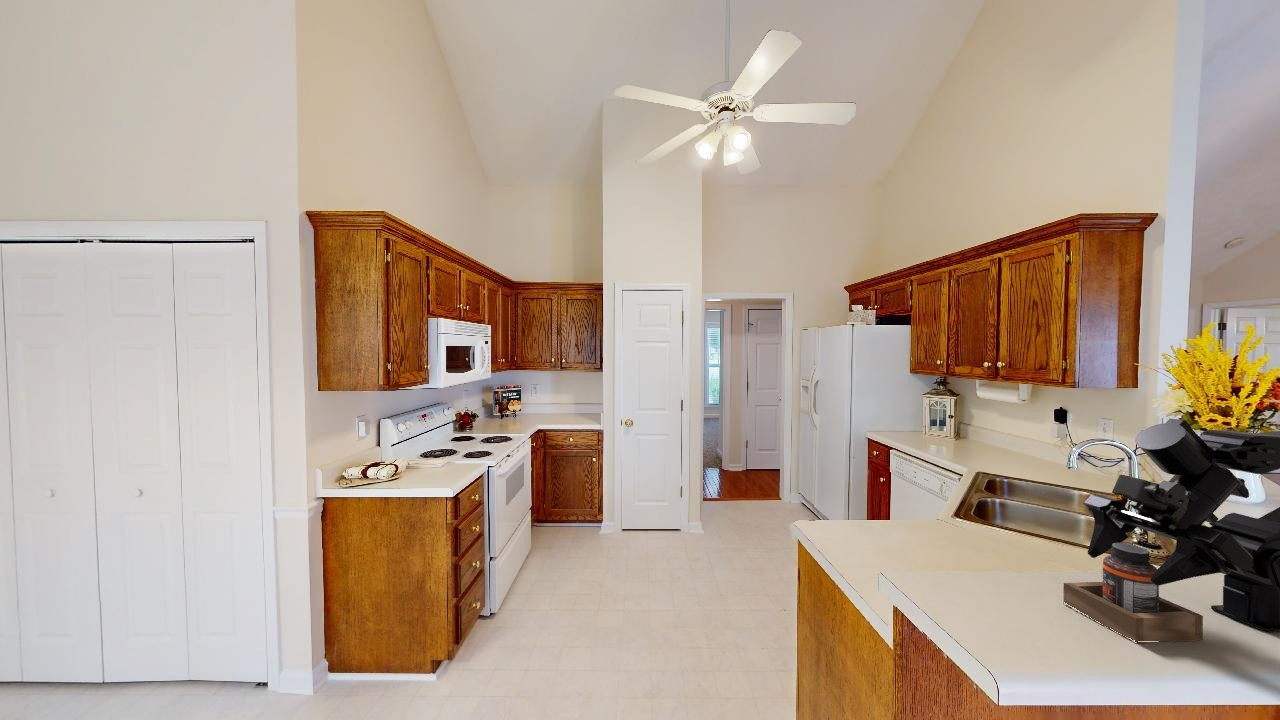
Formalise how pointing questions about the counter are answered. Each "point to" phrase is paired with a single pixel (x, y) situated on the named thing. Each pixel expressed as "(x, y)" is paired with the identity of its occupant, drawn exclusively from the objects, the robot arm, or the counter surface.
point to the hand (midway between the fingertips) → (1120, 568)
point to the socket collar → (1135, 616)
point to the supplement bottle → (1130, 579)
